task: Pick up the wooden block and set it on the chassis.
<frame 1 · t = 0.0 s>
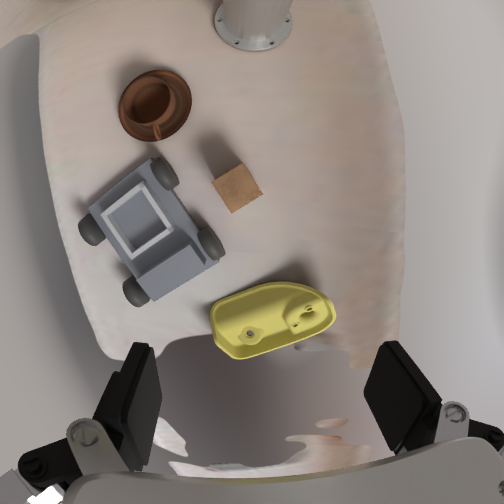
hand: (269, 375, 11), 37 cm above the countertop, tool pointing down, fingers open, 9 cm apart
plastic component: (271, 312, 53), on the countertop
wooden block: (236, 183, 45), on the countertop
cup and saucer: (157, 106, 40), on the countertop
chassis: (152, 232, 46), on the countertop
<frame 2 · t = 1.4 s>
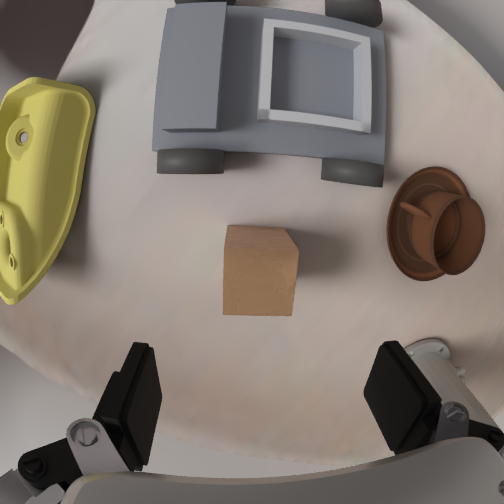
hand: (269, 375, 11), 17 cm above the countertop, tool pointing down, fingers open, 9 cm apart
plastic component: (37, 182, 23), on the countertop
wooden block: (254, 253, 27), on the countertop
cup and saucer: (424, 221, 27), on the countertop
chassis: (275, 78, 22), on the countertop
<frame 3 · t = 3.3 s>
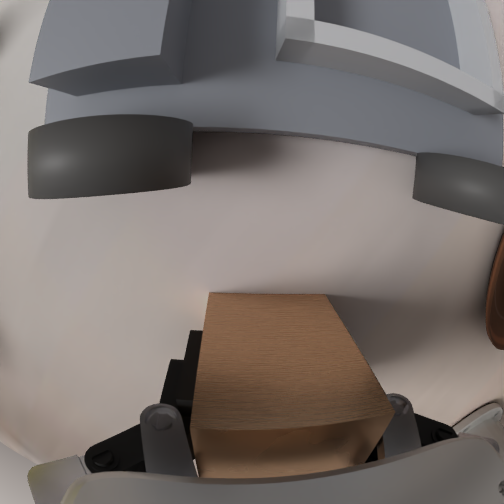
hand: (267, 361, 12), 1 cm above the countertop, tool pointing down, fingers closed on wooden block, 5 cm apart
wooden block: (264, 341, 13), on the countertop, touching gripper
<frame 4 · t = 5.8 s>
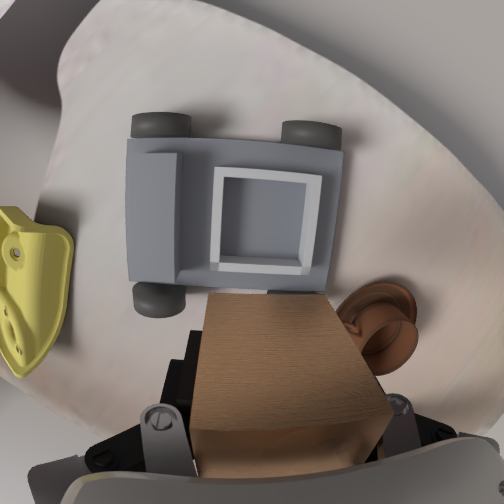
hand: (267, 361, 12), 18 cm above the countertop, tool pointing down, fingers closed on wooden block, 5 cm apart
plastic component: (31, 281, 29), on the countertop
wooden block: (263, 342, 13), point 16 cm above the countertop, touching gripper
cup and saucer: (368, 320, 33), on the countertop
chassis: (230, 214, 28), on the countertop
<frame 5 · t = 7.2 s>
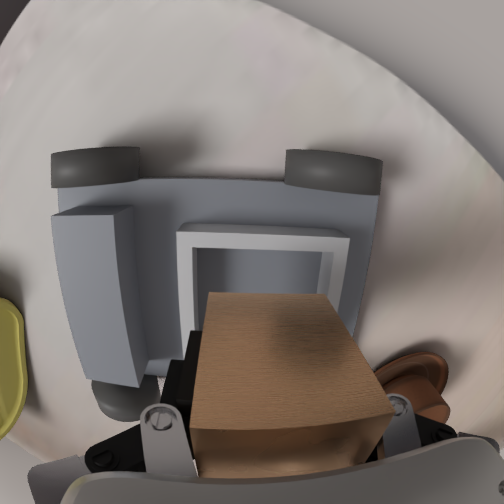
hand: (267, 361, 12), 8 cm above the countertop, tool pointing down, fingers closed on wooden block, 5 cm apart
wooden block: (264, 341, 13), point 6 cm above the countertop, touching gripper
cup and saucer: (390, 389, 24), on the countertop
chassis: (210, 286, 19), on the countertop
when the fingers open (4 cm above the countertop, at t = 8.4 s): wooden block drops 1 cm, resting on chassis.
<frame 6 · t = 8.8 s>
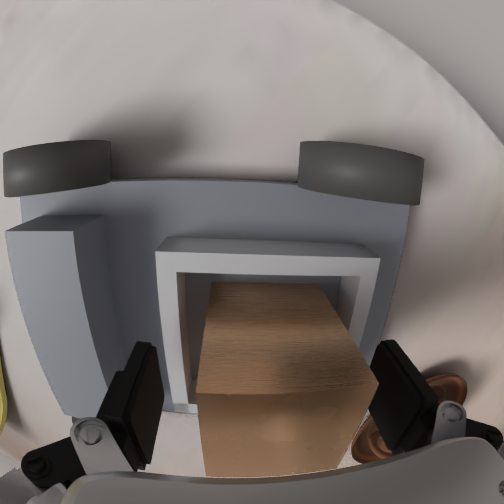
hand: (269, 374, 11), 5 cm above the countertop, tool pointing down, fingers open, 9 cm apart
wooden block: (262, 328, 14), point 1 cm above the countertop, touching chassis
cup and saucer: (405, 411, 21), on the countertop
chassis: (203, 311, 15), on the countertop
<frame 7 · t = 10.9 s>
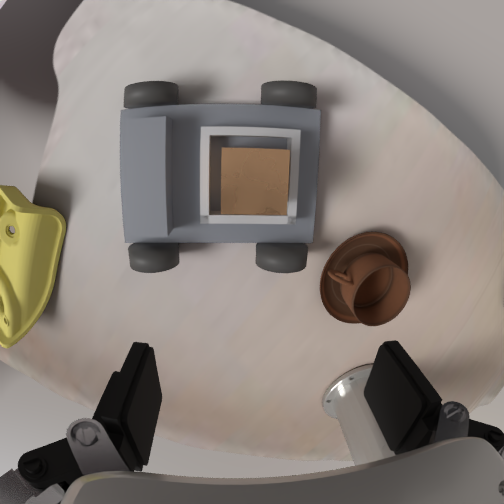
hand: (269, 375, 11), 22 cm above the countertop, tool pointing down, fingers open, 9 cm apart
plastic component: (22, 257, 30), on the countertop
wooden block: (248, 174, 28), point 1 cm above the countertop, touching chassis
cup and saucer: (360, 273, 34), on the countertop
chassis: (218, 172, 29), on the countertop
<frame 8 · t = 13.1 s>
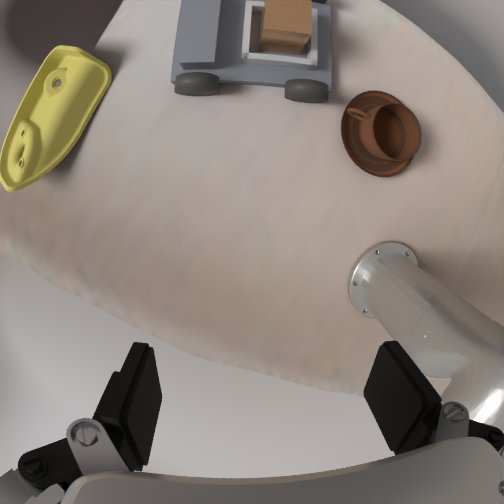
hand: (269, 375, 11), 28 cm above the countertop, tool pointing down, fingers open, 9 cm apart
plastic component: (55, 117, 31), on the countertop
wooden block: (279, 36, 29), point 1 cm above the countertop, touching chassis
cup and saucer: (375, 133, 35), on the countertop
chassis: (254, 38, 30), on the countertop
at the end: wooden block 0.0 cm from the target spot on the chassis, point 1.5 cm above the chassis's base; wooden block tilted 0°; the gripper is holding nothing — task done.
